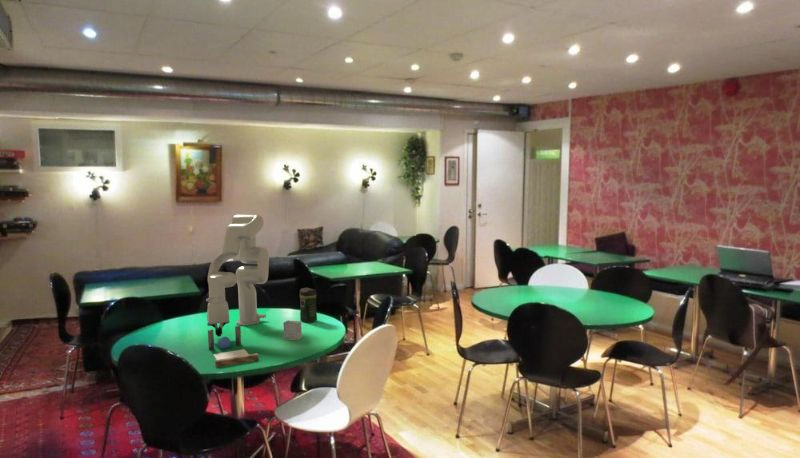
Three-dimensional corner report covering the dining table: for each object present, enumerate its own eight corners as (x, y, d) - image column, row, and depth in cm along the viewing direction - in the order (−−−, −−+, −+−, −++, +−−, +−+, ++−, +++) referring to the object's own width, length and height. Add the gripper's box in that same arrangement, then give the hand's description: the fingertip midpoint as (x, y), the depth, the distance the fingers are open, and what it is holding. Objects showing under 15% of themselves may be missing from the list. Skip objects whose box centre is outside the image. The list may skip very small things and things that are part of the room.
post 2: (240, 343, 265) (239, 325, 264) (241, 345, 263) (241, 326, 262) (235, 344, 264) (234, 326, 263) (236, 345, 262) (235, 327, 261)
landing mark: (244, 349, 256) (244, 349, 256) (251, 358, 244) (251, 357, 244) (213, 354, 249) (213, 354, 249) (219, 363, 237) (219, 363, 237)
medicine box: (302, 338, 273) (301, 321, 272) (297, 340, 269) (297, 323, 268) (288, 336, 276) (287, 320, 275) (283, 339, 271) (283, 322, 271)
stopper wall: (257, 358, 243) (257, 353, 243) (258, 360, 241) (258, 354, 241) (215, 365, 234) (215, 360, 234) (216, 367, 233) (215, 361, 232)
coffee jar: (319, 321, 304) (318, 288, 302) (307, 324, 299) (306, 290, 297) (310, 318, 311) (309, 286, 310) (298, 320, 306) (297, 287, 305)
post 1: (213, 347, 259) (212, 329, 258) (214, 349, 257) (213, 330, 256) (208, 348, 258) (207, 330, 257) (209, 350, 256) (208, 331, 255)
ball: (228, 338, 262) (230, 334, 258) (230, 349, 260) (232, 345, 256) (216, 340, 260) (217, 336, 256) (218, 351, 257) (219, 347, 253)
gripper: (202, 303, 265) (204, 340, 267) (234, 299, 272) (235, 335, 274) (200, 300, 271) (202, 336, 273) (231, 296, 278) (232, 331, 280)
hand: (218, 335), depth 273 cm, fingers closed
